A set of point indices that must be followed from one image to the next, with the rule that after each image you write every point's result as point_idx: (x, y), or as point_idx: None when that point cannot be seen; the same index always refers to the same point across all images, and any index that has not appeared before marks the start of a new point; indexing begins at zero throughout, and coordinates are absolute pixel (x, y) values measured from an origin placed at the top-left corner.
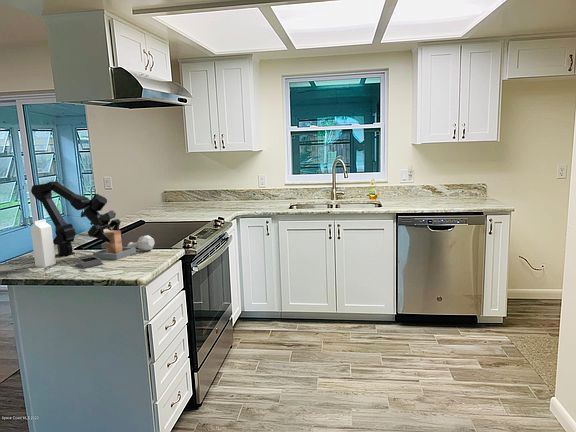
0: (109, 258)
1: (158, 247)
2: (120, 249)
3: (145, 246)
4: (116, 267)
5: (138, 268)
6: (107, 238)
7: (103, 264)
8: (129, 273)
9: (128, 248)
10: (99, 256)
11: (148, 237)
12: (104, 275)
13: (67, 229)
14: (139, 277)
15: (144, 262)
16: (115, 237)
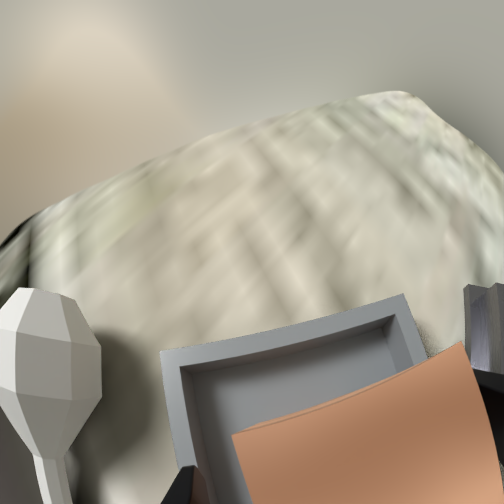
0: None
1: None
2: (286, 415)
3: (89, 327)
4: (431, 216)
5: (369, 138)
6: (498, 374)
7: (474, 285)
8: (415, 129)
9: (188, 416)
10: None
11: (18, 303)
12: (483, 177)
13: None
14: (403, 97)
15: (300, 172)
16: (394, 375)
